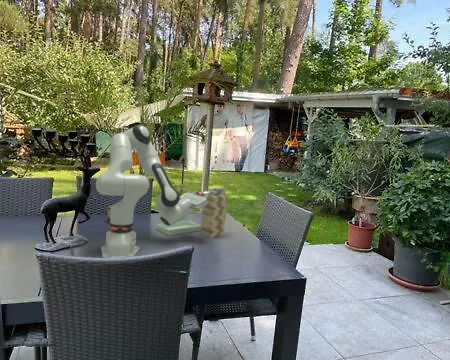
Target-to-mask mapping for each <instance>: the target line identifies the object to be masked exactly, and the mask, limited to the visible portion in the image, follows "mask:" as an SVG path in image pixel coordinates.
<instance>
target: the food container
mask: <svg viewBox="0 0 450 360" xmlns="http://www.w3.org/2000/svg"><path fill="white" fill-rule="evenodd" d="M112 206H113V205H112ZM112 206H111V205H110V206H109V205H107V207H106V212H107V215H106V216H107V223H110V216H111V207H112Z"/></svg>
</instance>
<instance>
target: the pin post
mask: <svg viewBox="0 0 450 360" xmlns="http://www.w3.org/2000/svg"><path fill="white" fill-rule="evenodd" d="M217 190H218V191H217ZM208 191H211V195H209V197H208V198H207V201H208V204H207V205H206V206H204V207H203V208H202V216H201V218H202V219H201V226H202V228H201V231H200V234H201V235H204V236H206V237H208V238H210V239H213V238H218V237H224V236H225V225H226V214H227V213H226V212H227V200H228V195H226V189H225V188H221V187H214V189H206V191H205V192H208ZM203 197H205V196H203Z"/></svg>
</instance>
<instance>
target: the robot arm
mask: <svg viewBox="0 0 450 360" xmlns="http://www.w3.org/2000/svg"><path fill="white" fill-rule="evenodd" d="M133 151H135V152H136V154H137V157H138V161H139V163H140V166H141V169H142V170H143V172H144V173H145V174H147V175H149V176H153V177H154V178H155V180H156V183H157V184H158V186H159V189H160V194H159V195H158V197H157V198H156V203H155V204H156V206H157V208H158V210H159V218H160V221H161V222H162V224H165V225H168V226H171V225H173V224H175V223H177V222H180V221H181V220H182V219H183V218H184V217H186V216H187V215H189V214H190V213H192V212H193V210H194V211H195V210H201V209H203V207H204V206H206V205H207V204H208V201H207V198H208V197H209V194H205V197H204V196H198V195H197V193H198V192H200V190H196V191H193V192H189V191H188V192H184V193H183V194H181V195H180V193H179V192H178V190H177V189H176V188H175V187H174V186H173V184H172V182H171V180H170V178H169V176H168V174H167V172H166V171H165V168H164V166H163V165H162V162H161V159H160V156H159V154H158V152H157V150H156V148H155V146H154V145H153V144H152V142H151V134H150V131H149V129H148V127H147V126H145V125H144V124H135V125H134V126H132V127H131V128H129V129H128V130H125V131H124V132H119V133H118V132H117V133H115V134H113V135H112V137H111V141H110V149H109V155H110V157H109V158H110V160H109V166H108V168H107V170H105V172H104V173H102V174H100V175H99V176H98V177H97V178H96V181H95V188H96V190H97V192H98V193H99V194H100V195H104V196H108V197H109V196H110V197H111V196H112V197H113V196H114V197H115V196H116V197H117V196H118V197H120V196H121V197H123V198H122V199H121V200H120V201H119V202H115V203H114V204H113V205H112V207H111V216H110V223H109V222H108V223H109V224H108V231H107V232H106V234H105V241H104V245H103V246H101V247H100V251H101V256H102V257H101V258H102V259H104V258H110V257H128V256H134V257H135V256H136V255H137V254H138V252H139V251H140V247H139V246H138V245H137V233H136V231H134V226H135V225H134V212H135V208H136V206H137V205H136V204H137V203H138V201H139V200H140V199H141V198H142V197H143V196H144V195H146V194H147V193H148V191H149V189H150V181H149V178H147V176H145V175H142V174H138V173H125V172H127V171H129V170H130V169H131V168H132V166H133V165H134V160H133Z"/></svg>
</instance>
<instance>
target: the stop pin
mask: <svg viewBox="0 0 450 360" xmlns="http://www.w3.org/2000/svg"><path fill="white" fill-rule="evenodd" d="M217 191H218V190H217ZM205 194H209V195H211V191H208V192H206V191H201V192H200V191H199V192H198V193H197V195H198V196H201V197H204V196H205Z"/></svg>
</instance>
